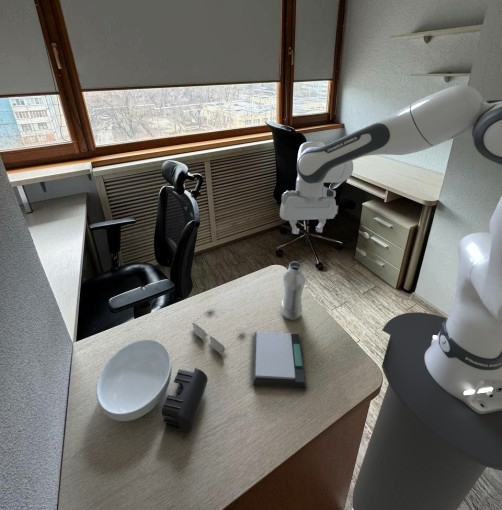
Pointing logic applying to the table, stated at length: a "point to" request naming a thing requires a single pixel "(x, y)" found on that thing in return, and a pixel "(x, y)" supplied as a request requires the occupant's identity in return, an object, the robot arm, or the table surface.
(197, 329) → the eyeglasses
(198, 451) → the table surface
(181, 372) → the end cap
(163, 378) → the cereal bowl
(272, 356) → the scale
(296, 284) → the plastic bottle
